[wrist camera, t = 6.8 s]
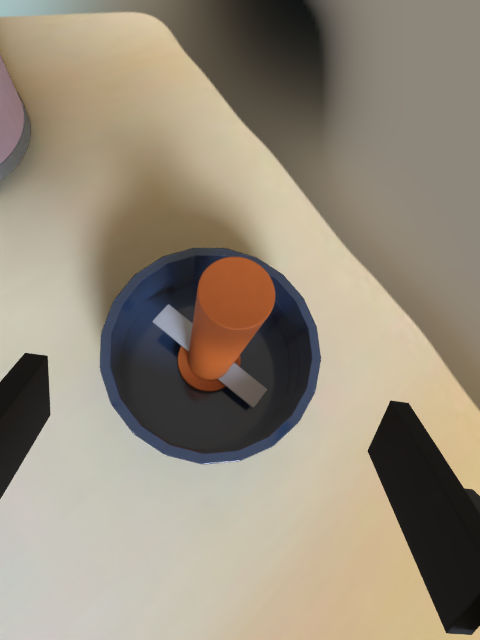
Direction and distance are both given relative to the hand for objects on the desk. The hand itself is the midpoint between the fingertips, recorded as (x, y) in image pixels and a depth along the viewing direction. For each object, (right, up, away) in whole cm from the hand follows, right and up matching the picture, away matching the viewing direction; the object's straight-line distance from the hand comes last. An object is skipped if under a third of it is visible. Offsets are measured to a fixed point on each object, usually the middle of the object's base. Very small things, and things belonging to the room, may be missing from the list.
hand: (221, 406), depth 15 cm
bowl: (-2, 0, +13) cm, 14 cm away
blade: (-2, 0, +13) cm, 13 cm away
